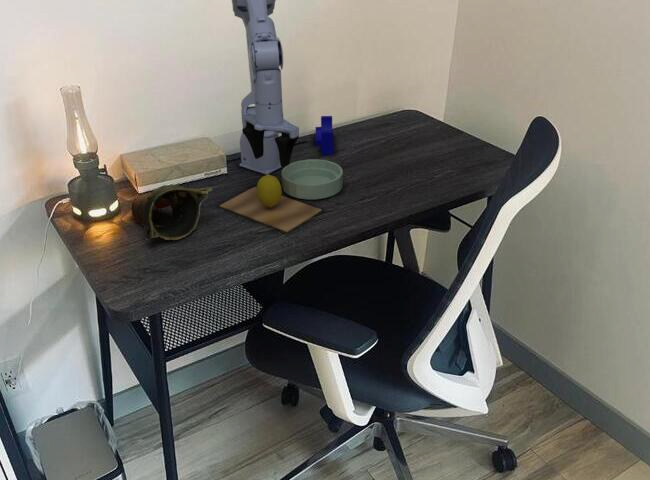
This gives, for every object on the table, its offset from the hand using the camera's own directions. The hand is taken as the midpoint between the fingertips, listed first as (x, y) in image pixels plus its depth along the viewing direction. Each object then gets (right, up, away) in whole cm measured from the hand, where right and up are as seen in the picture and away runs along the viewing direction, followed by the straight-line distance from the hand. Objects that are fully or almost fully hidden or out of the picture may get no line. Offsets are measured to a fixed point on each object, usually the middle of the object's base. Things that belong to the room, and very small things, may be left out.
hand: (271, 161), depth 147 cm
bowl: (+9, -4, +11) cm, 15 cm away
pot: (-21, -15, -4) cm, 27 cm away
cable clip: (+13, +10, +32) cm, 35 cm away
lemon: (0, -10, +3) cm, 10 cm away
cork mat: (-1, -10, +3) cm, 10 cm away
